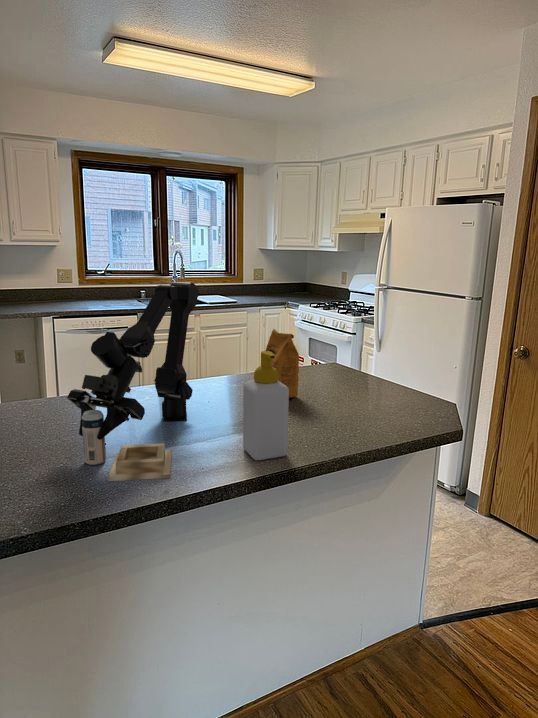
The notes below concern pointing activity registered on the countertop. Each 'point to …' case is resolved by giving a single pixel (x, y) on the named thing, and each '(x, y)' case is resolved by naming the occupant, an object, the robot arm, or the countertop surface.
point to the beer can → (93, 437)
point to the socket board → (141, 462)
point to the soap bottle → (265, 412)
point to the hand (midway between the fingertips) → (89, 437)
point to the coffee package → (285, 360)
